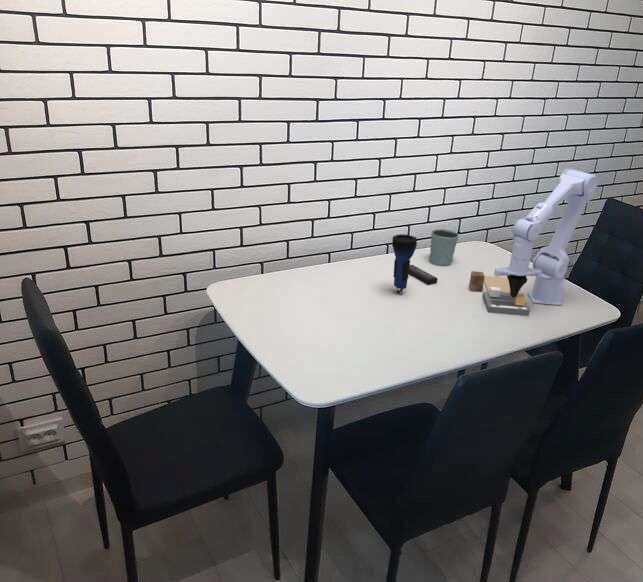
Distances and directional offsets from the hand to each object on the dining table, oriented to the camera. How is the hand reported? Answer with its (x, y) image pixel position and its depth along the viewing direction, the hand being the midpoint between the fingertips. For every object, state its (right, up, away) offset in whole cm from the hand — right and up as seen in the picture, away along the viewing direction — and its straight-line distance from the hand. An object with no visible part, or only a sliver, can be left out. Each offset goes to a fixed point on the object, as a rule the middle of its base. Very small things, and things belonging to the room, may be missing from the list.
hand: (513, 296), depth 187 cm
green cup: (-15, +13, +38) cm, 43 cm away
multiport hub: (-26, +6, +24) cm, 36 cm away
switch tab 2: (+2, -2, +1) cm, 3 cm away
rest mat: (+2, +3, +20) cm, 20 cm away
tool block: (-8, +2, +16) cm, 18 cm away
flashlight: (-36, +1, +10) cm, 37 cm away
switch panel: (-1, -3, +4) cm, 6 cm away
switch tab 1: (-4, 0, +6) cm, 7 cm away
